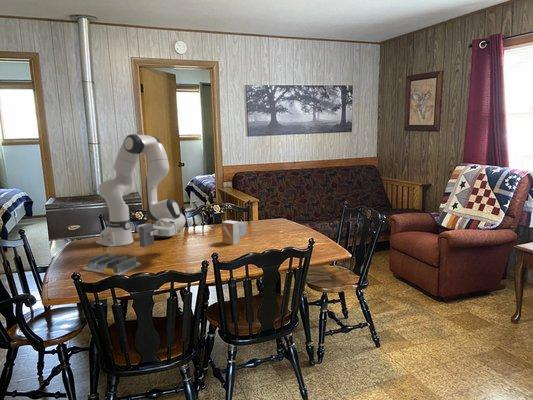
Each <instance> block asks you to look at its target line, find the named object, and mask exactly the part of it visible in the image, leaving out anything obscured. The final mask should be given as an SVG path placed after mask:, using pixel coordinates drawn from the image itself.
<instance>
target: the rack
mask: <svg viewBox="0 0 533 400" xmlns="http://www.w3.org/2000/svg"><path fill="white" fill-rule="evenodd" d="M118 256H119V255H118V253H115V254H113V255H110V254H109V252H106V253H104V254H103V253H102V254H100V255H98V256H96V257H92V258H90V259H87V260H86V264H87V265H85V266H84V267H83V266H82V270H83V271H86V272H94V273H97V274H98V273H99V274H104V275H107V276H112V275H113V276H115V275H119V276H121V275H123V274H125V273H127V272H130V271H131V270H134V269H136V268H138V267H141V266H142V263H141V262H139V261H137V257H136V256H134V257H131V258H128V256H127V255H122V256H121V257H118Z"/></svg>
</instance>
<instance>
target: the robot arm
mask: <svg viewBox="0 0 533 400" xmlns="http://www.w3.org/2000/svg"><path fill="white" fill-rule="evenodd" d="M140 155H141V156H143V155H144V156H145V157H146V161H147V175H146V177H145V194H146V209H145V210H146V215H147V216H146V217H148V219H149V220H151V221H152V222H153V223H152V224H153V231H150V232H148V235H150V236H152V235H160V236H170V237H171V236H172V237H173V236H176V235H178V231H179V230H181V229H182V228H184V227H185V225H186V220H187V219H186V217H185V215H184V214H183V213H182V212H181V208H180V205H179V203H178V202H177V201H176V200H175V199H173V198H171V197H170V198H167V199H164V200H161V201H158V186H159V184H160V182H162V180H163V179H165V178H166V177H167V175H168V173H170V164H169V158H168V155H167V151H166V150H165V147H164V145H163V144H162V143H161V140H160V138H158V137H156V136H153V135H148V134H135V133H132V134H128V135H126V137H125V138H124V141H123V142H122V144H121V145H120V147H119V149H118V152H117V155H116V158H115V161H114V165H113V170H114V171H115V177H114V178H113V179H112V178H111V179H106V180H105V181H103V182H101V183H100V184H99V185H98V194H99V196H100V197H101V198H102V199H104V200H105V202H106V204H107V207H108V214H109V220H107V221H106V224H107V226H106V227H105V228H104V229H103V230H102V231H101V232H100V233H99V239H97V240H96V241H95V243H96V244H99V245H102V246H105V247H110V248H111V247H112V248H113V247H118V246H120V247H121V246H126V245H131V244H132V243H134V241H135V240H134V237H133V233H132V229H131V228H132V227H131V223H132V222H131V219H130V211H129V210H130V209H129V206H128V205H127V203H126V202H125V201H124V199H123V197H124V196H128V195H129V194H131V193H133V192H134V190H135V188H136V185H135V181H134V178H133V175H134V171H135V168H136V165H137V161H138V158H139V156H140ZM154 222H156V223H155V224H154ZM146 224H147V223H143V224H139V225H137V226H136V231H137V233H138V234H139V227H140V226H143V225H146Z"/></svg>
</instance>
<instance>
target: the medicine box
mask: <svg viewBox="0 0 533 400" xmlns="http://www.w3.org/2000/svg"><path fill="white" fill-rule="evenodd" d="M238 222H239V238H241V237H244V236H247V222H246V221H243V220H242V221H241V220H240V221H238Z"/></svg>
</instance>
